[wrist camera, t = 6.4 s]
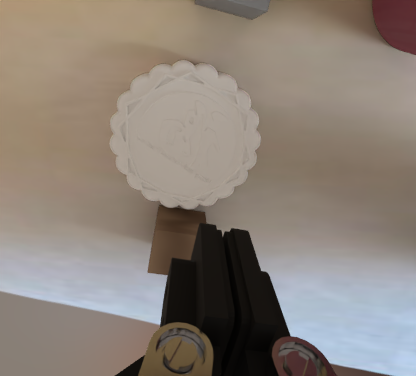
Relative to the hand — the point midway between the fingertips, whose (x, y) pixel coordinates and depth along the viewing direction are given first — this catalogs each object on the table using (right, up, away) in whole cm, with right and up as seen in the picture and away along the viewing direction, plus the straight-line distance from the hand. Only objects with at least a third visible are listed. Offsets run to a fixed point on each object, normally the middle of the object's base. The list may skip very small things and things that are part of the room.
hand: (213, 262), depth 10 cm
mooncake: (-2, +7, +16) cm, 18 cm away
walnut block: (-3, -1, +19) cm, 20 cm away
